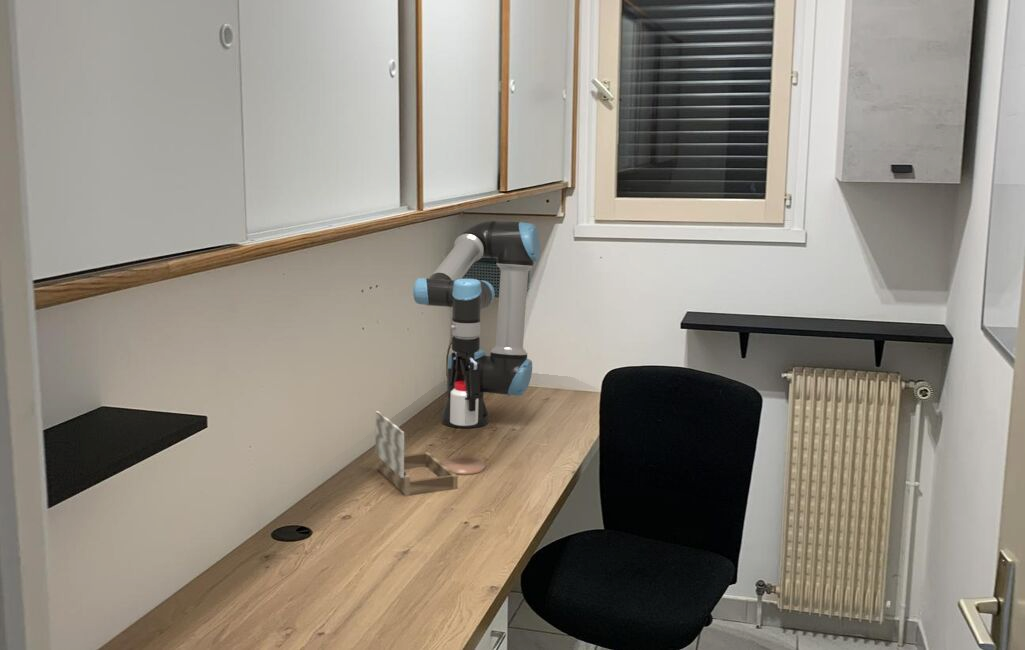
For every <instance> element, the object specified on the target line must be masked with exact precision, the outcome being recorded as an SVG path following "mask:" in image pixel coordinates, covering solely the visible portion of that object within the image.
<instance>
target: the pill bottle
mask: <svg viewBox="0 0 1025 650" xmlns="http://www.w3.org/2000/svg"><path fill="white" fill-rule="evenodd" d="M466 397H467V392H466V384H465V381H457V382H455V388H454V389H453V390H452V391H451V393H450V423H452V424H454V425H459V426H470V425H475V424H477V423H478V404H479V398H478V399H476V417H475V422H469V423H466V422H465V406H466V400H465V398H466Z"/></svg>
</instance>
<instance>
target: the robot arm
mask: <svg viewBox="0 0 1025 650" xmlns="http://www.w3.org/2000/svg"><path fill="white" fill-rule="evenodd" d="M453 243H454V244H453V248H452V249H451V250H450V252H449V253H448V254H447V255H446V257H445V258H444V259H443V261H442V262H441V263H440V264H439V265H438V266H437V268H436V269H435V270H434V272H433V273H432V274H431V275H430V277H428V278H427V277H422V278H421V277H419V278H417V279H416V280H415V282H414V285H413V287H412V289H413V291H412V293H413V295H412V296H413V300H414V302H415V303H417V304H418V305H423V306H429V307H430V306H431V307H432V306H433V307H448V308H452V318H451V319H452V320H451V321H452V325H451V326H450V328H451V330H452V331H451V334H452V335H453V336H452V338H451V350H452V351H453V352H451V354H449V356H448V359H447V360H448V361H447V367H446V370H447V372H446V373H447V384H446V385H447V386H446V387H447V388H446V389H447V390H446V391H447V392H446V401H445V403H444V406H443V409H442V412H441V415H440V416H441V417H440V418H441V419H440V420H441V423H442V424H443V425H445V426H448V427H451V428H457V429H459V428H460V429H472V428H473V429H474V428H480V427H484V426H485V425H487V424H488V423H489V413H488V412H489V411H488V410H487V406H486V402H485V399H484V393H486V394H487V393H488V394H497V395H507V396H522V395H523V394H525V393H526V391H527V390H528V388H529V385H530V382H531V378H532V373H533V361H532V360H531V359H530V358H528V352H527V350H525V349H524V337H525V321H526V309H527V308H526V307H527V306H526V305H527V295H528V294H527V291H528V278H529V271H531V270H532V268H533V267H534V262H537V261H539V259H540V256H541V238H540V233H539V231H538V229H537V226H536V225H535V224H533V223H529V222H528V223H527V222H524V221H519V222H518V221H497V220H496V221H495V220H486V221H485V220H484V221H481V222H478V223H476V224H474V225H473V224H472V226H470V227H467V228H466V229H464V230H463V231H462V232H460V233H459V235H458V236H457V237H456V238H455V240H454V242H453ZM482 258H485V259H487V258H488V259H489V258H490V259H496V264H495V265H496V266H497V267H498V268H499V270H500V275H499V276H500V278H499V293H498V307H497V308H498V309H497V320H496V321H497V323H496V337H495V338H496V340H495V346H494V347H493V348H492V349H491V350H490V355H486V353H485V350H483V349H480V344H481V343H480V340H481V338H480V337H479V336H480V335H481V310H482V309H484V308H487V307H488V306H489V305H490V304H492V303H493V301H494V299H495V294H496V293H495V289H494V286H493V284H491V283H490V282H488V281H486V280H479V279H476V278H463V277H464V276H465V275H466V274H467V272H468V271H469V269H470V268H471V267H472V265H473V264H474V263H476V262H478V261H479V260H481V259H482ZM457 381H465V384H466V392H467V397H466V398H465V400H466V406H465V422H466V423H469V422H475V417H476V399H478V398H479V404H478V423H477V424H475V425H470V426H459V425H454V424H452V423H450V393H451V391H452V390H453V389H454V388H455V382H457Z"/></svg>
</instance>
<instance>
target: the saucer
mask: <svg viewBox="0 0 1025 650" xmlns="http://www.w3.org/2000/svg"><path fill="white" fill-rule="evenodd" d="M442 463H443V464H444V465H445V466H446V467H447V468H449V469H450V470H451V471H452V472H454V473H455V474H456V475H457V476H472V475H477V474H480V473H482V472H483V471H485V469H486V468H485V466H486V465H485V463H484V462H483V461H482V460H479V459H475V458H469V457H454V458H448V459H447V460H444V461H443V462H442Z"/></svg>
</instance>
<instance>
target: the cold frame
mask: <svg viewBox="0 0 1025 650" xmlns="http://www.w3.org/2000/svg"><path fill="white" fill-rule="evenodd" d="M374 450H375V452H374V453H375V455H376V456H377V457H378V458H379V459H378V461H379V472H380V473H381V474H382V475H383V476H384V477H385V478H386V479H388V481H389V482H390V483H391V484H393V485H394V487H395V488H396V489H397V490H399V491H400V492H401V494H403V496H405V497H408V496H415V495H422V494H428V493H429V494H430V493H436V492H443V491H449V490H450V491H451V490H456V489H458V476H459V475H456V474H455V473H454V472H452V471H451V470H450V469H449V468H447V467H446V466H445V465H444V464H443V462H441V461H440V460H439V459H438V458H437V457H435V456H434V455H433V454H432V453H430V452H420V453H411V454H407V455H406V454H405V431H403V430H402V429H401V428H400V427H399V426H398V425H396V424H395V423H394V422H393V421H391V420H390V419H389V418H388V417H386V415H384V414H383V413H381V412H380V411H379V410H376V411H375V449H374ZM422 467H423V468H424V467H427V468H428V469H429V470H430V471H431V472H432V473H434V474H435V475H436V476H434V477H427V478H420V479H412V480H411V476H410V475H409V474H408V473H407V472H406V471H405V469H406V470H407V469H412V468H413V469H414V468H422Z"/></svg>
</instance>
